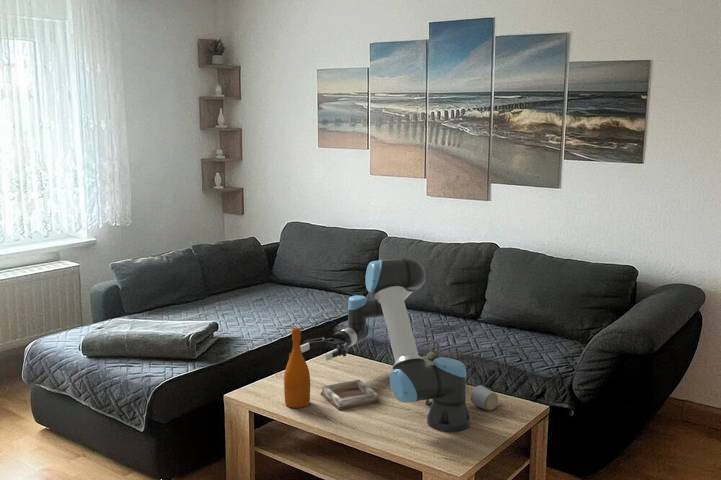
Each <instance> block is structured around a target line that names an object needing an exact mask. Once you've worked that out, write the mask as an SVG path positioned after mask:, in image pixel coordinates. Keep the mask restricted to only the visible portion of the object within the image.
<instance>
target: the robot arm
mask: <svg viewBox="0 0 721 480" xmlns="http://www.w3.org/2000/svg"><path fill="white" fill-rule="evenodd" d="M426 275H427V274H426V271H425V268H424V266H423V265H422V264H421V262H418V261H417V260H416V259H413V258H408V257H404V258H403V257H402V258H397V259H396V258H395V259H394V258H393V259H379V260H373V261H370V262H369V263H368V265H367V267H366V271H365V287H366V291H367V292H368V293H370V294H373V295H374V299H367V297H366V296H364V295H357V294H356V295H352V296H350V297H349V298H348V303H347V305H348V306H347V313H348V314H347V317H348V319H347V320H348V322H347V326H348V327H345V328H344V329H341V330H339V331H337V332H334V333H333V334H332V336H331V337H329V338H326V337H325V336H322V337H317V338H311V339H307V340H303V344H300V348H301V352H302V354H303V353H305V352H307V351H309V350H310V349H315V348H323V349H333V350H331V351H328V352H326V353H325V361H327V362H328V361H330V360H332V359H334V358H337V357H341V356H343V357H346V356H347V354H348V352H349V350H350V349H351V347H352V346H354V345H356V344H359V343H360V342H364V341H365V340H366V339H368V338H369V337H370V336H371V334H372V333H371V332H372V330H371V327H370V325H369V324H368V322H367V319H374V318H382V317H383V318H384V323H385V326H386V329H387V333H388V338H389V341H390V346H391V349H392V354H393V359H394V364H393V365H392V370H391V371H390V372H389V384H390V388H391V391H392V393H393V395H394V397H395V399H396V400H398V401H399V402H400V403H405V404H406V403H415V402H420V401H426V400H429V401H430V400H432V402H431V405H430V408H429V411H428V414H427V417H426V418H427V421H426V423H427V425H428V426H429V427H430V428H432V429H434V430H437V431H440V432H451V433H452V432H461V431H464V430H466V429H467V428H469V427H470V425H471V417H470V414H469V411H468V410H469V409H468V407H467V404H466V401H467V399H466V398H467V397H466V396H467V395H466V393H467V377H468V376H467V367H466V365H465V364H464V363H463V362H462V361H460V360H458V359H454V358H449V357H444V358H436V359H434V361H433V365H428V366H426V364H425V360H424V359H423V358H422V357H423V356H420V355H419V351H418V349H417V348H418V347H417V344H416V340H415V337H414V332H413V329H412V326H411V322H410V318H409V313H408V310H407V307H406V303H405V301H406V300H407V299H408V297H409V296H410V295H411V294H412V293H414V292H415V293H416V292H417V291H419V290H421V288H422V287H423V285H424V284H425V281H426V277H427V276H426Z"/></svg>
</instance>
